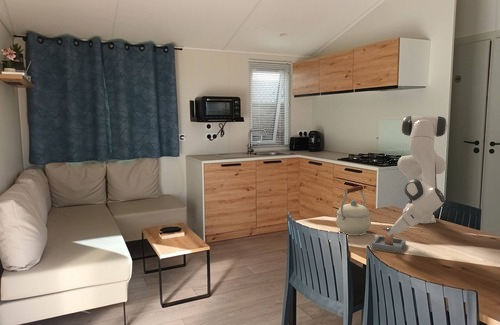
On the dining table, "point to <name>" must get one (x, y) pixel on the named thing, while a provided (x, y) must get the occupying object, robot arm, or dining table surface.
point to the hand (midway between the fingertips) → (389, 231)
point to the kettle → (353, 215)
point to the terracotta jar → (388, 237)
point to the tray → (397, 245)
